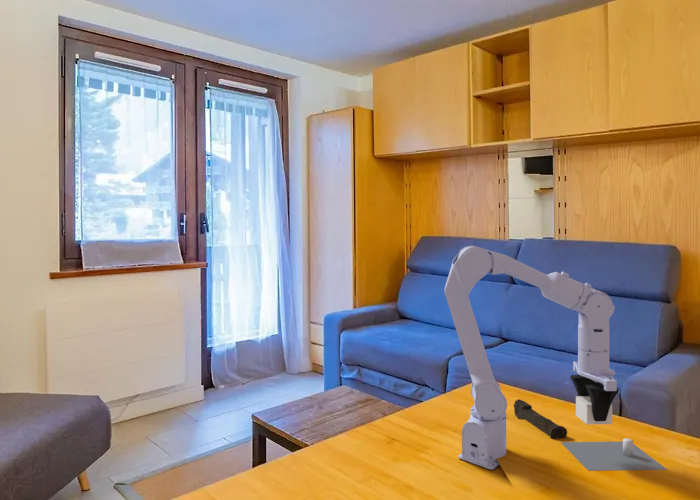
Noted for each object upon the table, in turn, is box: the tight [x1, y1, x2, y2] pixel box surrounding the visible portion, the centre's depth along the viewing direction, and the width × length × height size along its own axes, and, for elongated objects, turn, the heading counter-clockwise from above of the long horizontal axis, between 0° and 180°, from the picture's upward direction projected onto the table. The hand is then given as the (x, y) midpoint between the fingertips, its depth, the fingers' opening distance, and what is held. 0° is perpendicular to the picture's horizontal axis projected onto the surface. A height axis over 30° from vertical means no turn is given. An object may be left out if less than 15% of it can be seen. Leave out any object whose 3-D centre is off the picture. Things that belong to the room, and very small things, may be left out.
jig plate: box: [560, 437, 668, 472], centre depth 103 cm, size 15×13×4 cm
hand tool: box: [513, 399, 568, 440], centre depth 121 cm, size 19×4×5 cm, turn 9°
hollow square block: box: [575, 395, 613, 425], centre depth 103 cm, size 5×5×4 cm
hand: (593, 415), depth 103 cm, fingers closed on hollow square block, 5 cm apart
